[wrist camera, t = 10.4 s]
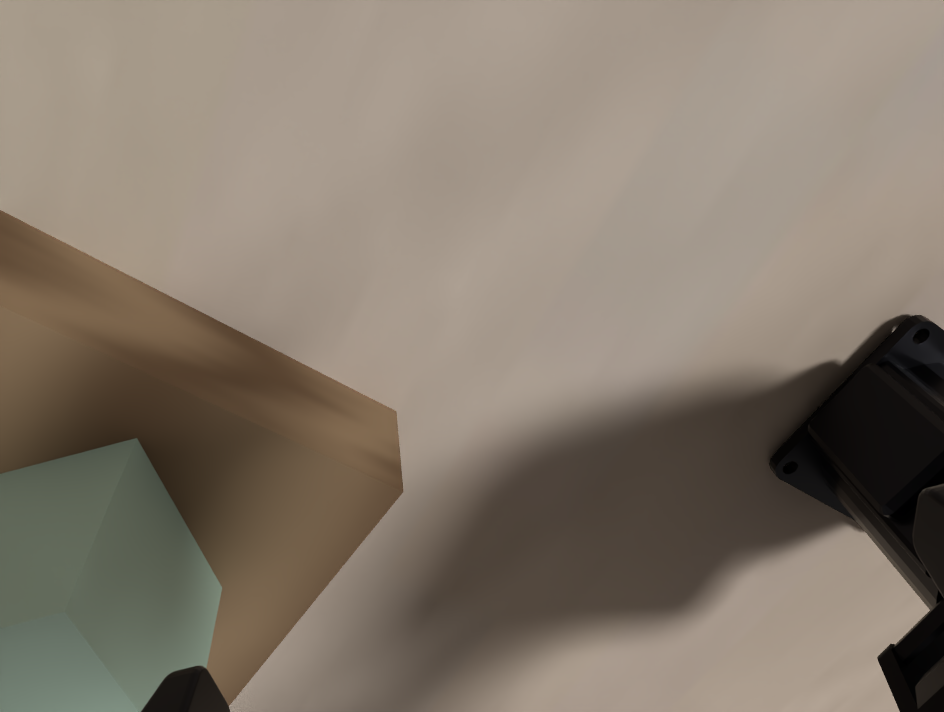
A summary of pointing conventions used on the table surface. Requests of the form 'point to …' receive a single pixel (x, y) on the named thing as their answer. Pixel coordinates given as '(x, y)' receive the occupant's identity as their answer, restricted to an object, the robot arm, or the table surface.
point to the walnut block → (195, 432)
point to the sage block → (97, 584)
